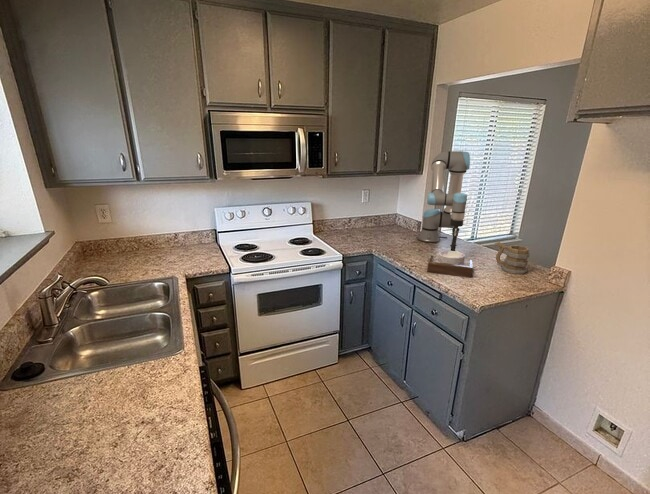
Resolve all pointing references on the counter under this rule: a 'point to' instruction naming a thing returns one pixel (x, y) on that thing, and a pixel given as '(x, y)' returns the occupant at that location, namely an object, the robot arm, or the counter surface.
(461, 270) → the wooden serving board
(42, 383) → the counter surface
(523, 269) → the tankard
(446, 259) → the paper bowls
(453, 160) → the robot arm
